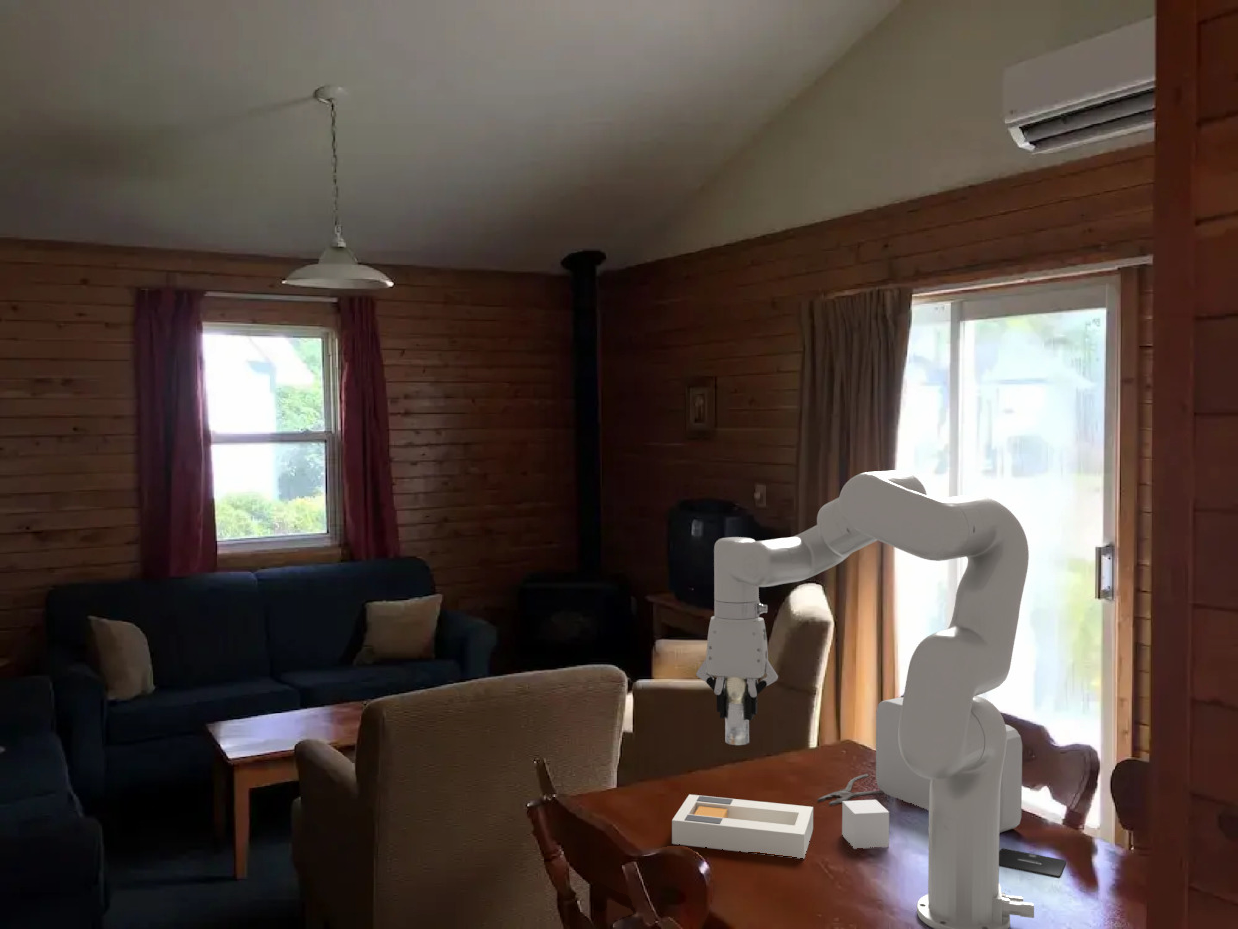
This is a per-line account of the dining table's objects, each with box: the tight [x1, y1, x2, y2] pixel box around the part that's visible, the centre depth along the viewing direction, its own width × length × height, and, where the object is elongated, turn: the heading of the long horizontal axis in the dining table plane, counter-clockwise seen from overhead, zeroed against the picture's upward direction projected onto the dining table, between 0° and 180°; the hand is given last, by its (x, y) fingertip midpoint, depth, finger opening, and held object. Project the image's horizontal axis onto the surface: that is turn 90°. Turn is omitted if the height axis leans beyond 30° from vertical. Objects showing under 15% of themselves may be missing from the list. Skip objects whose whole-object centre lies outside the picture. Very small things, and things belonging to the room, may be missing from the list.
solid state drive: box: [999, 847, 1067, 879], centre depth 168 cm, size 7×10×1 cm
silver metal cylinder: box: [724, 677, 750, 746], centre depth 179 cm, size 4×4×12 cm
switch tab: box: [694, 806, 728, 818], centre depth 181 cm, size 5×5×2 cm
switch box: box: [671, 793, 814, 860], centre depth 179 cm, size 22×13×4 cm, turn 73°
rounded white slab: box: [875, 696, 1023, 834], centre depth 192 cm, size 29×8×18 cm, turn 33°
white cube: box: [841, 799, 890, 850], centre depth 177 cm, size 6×6×6 cm
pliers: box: [817, 773, 884, 807], centre depth 201 cm, size 10×1×20 cm
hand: (737, 716), depth 179 cm, fingers closed on silver metal cylinder, 4 cm apart
